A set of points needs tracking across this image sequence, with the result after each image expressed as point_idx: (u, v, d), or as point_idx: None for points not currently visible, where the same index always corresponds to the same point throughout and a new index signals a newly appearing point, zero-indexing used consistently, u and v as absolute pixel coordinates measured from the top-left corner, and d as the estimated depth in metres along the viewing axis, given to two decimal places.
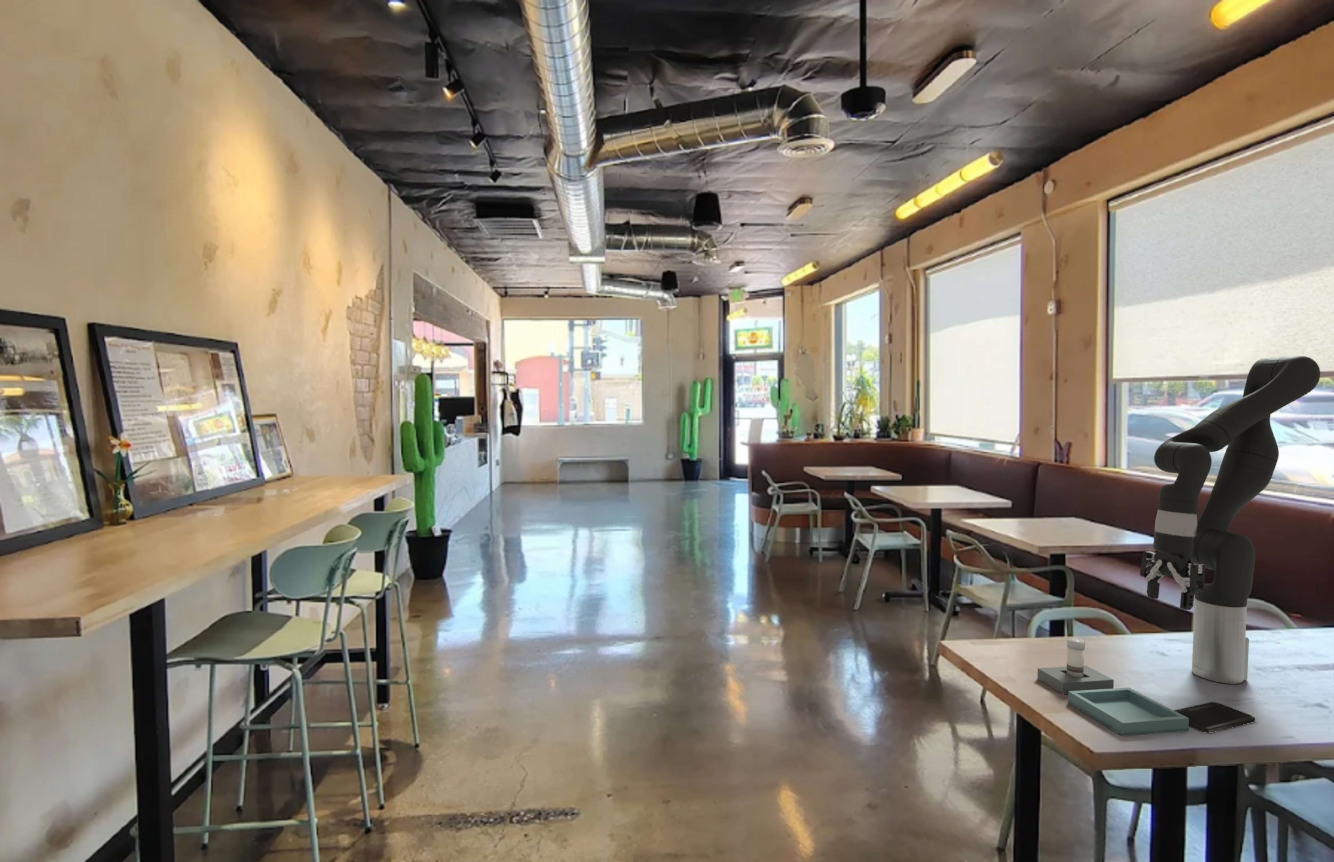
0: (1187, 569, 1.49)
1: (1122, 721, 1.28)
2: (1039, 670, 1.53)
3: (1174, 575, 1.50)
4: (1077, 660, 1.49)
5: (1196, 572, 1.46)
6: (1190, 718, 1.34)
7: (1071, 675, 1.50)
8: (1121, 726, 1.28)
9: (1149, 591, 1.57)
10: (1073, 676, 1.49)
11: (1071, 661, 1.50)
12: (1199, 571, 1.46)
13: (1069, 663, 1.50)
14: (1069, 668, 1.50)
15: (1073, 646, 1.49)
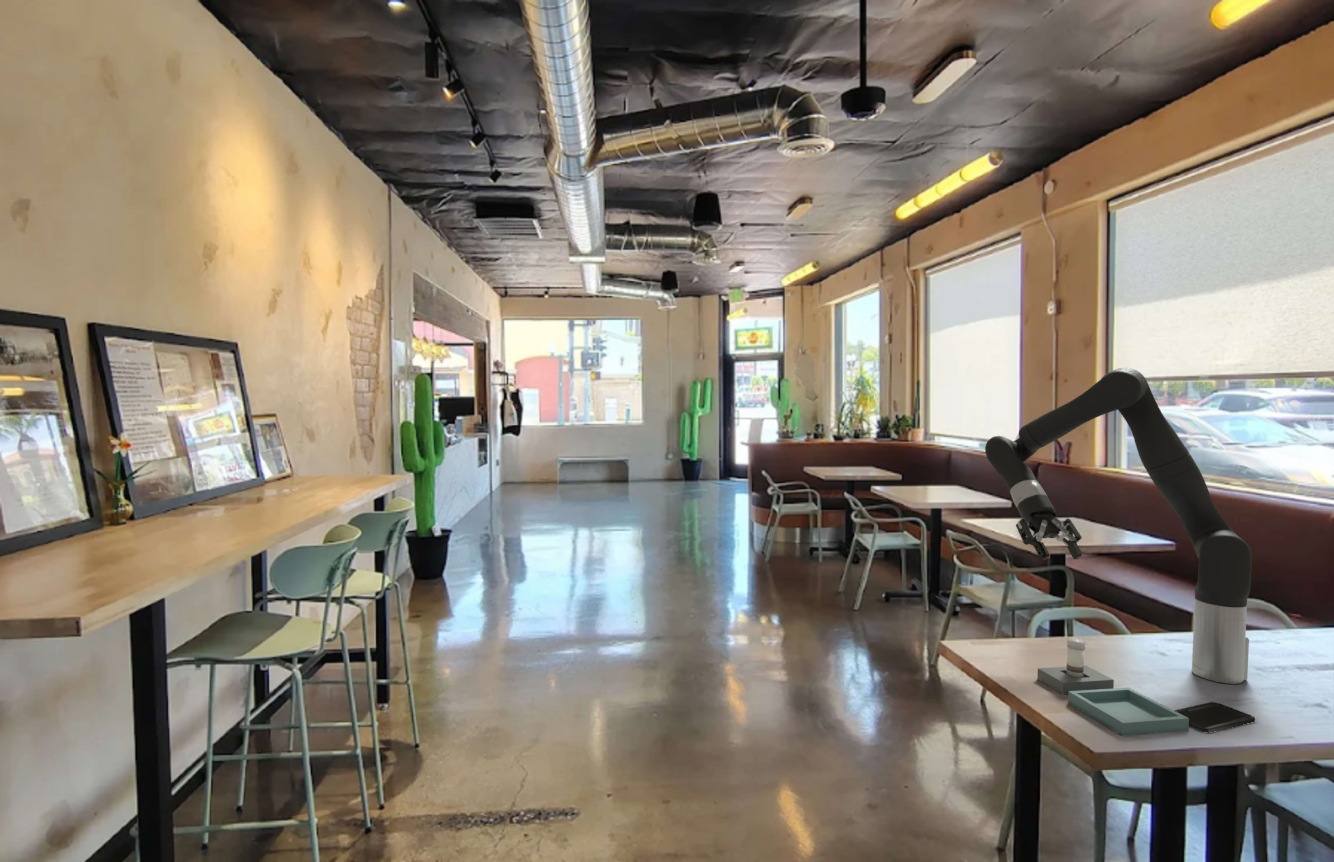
0: None
1: (1122, 721, 1.28)
2: (1039, 670, 1.53)
3: None
4: (1077, 660, 1.49)
5: (1018, 529, 1.67)
6: (1190, 718, 1.34)
7: (1071, 675, 1.50)
8: (1121, 726, 1.28)
9: None
10: (1073, 676, 1.49)
11: (1071, 661, 1.50)
12: (1019, 526, 1.67)
13: (1069, 663, 1.50)
14: (1069, 668, 1.50)
15: (1073, 646, 1.49)
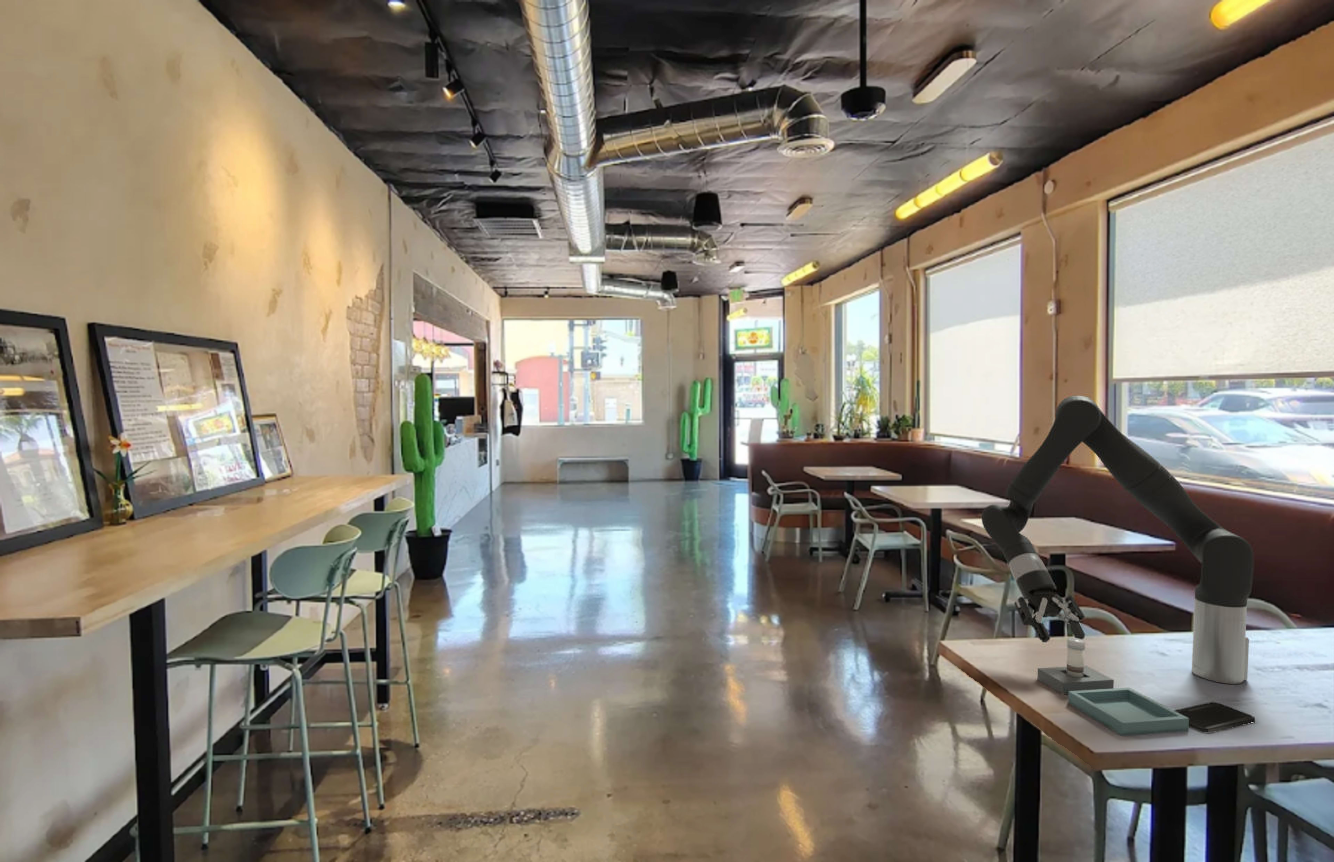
0: None
1: (1122, 721, 1.28)
2: (1039, 670, 1.53)
3: None
4: (1077, 660, 1.49)
5: (1017, 607, 1.59)
6: (1190, 718, 1.34)
7: (1071, 675, 1.50)
8: (1121, 726, 1.28)
9: None
10: (1073, 676, 1.49)
11: (1071, 661, 1.50)
12: (1018, 605, 1.59)
13: (1069, 663, 1.50)
14: (1069, 668, 1.50)
15: (1073, 646, 1.49)
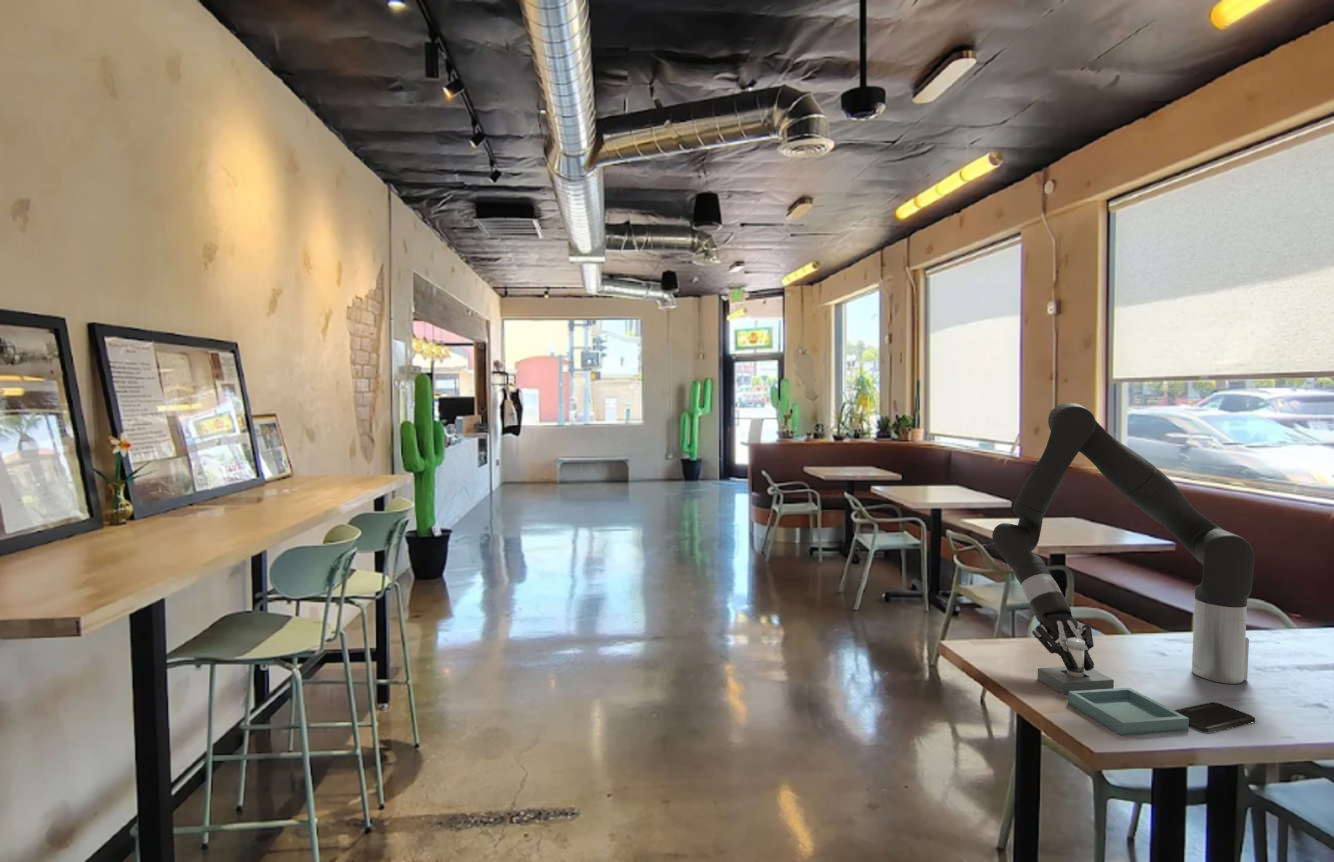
0: None
1: (1122, 721, 1.28)
2: (1039, 670, 1.53)
3: None
4: (1077, 660, 1.49)
5: (1037, 637, 1.53)
6: (1190, 718, 1.34)
7: (1071, 675, 1.50)
8: (1121, 726, 1.28)
9: None
10: (1073, 676, 1.49)
11: None
12: (1038, 635, 1.53)
13: None
14: None
15: (1073, 646, 1.49)
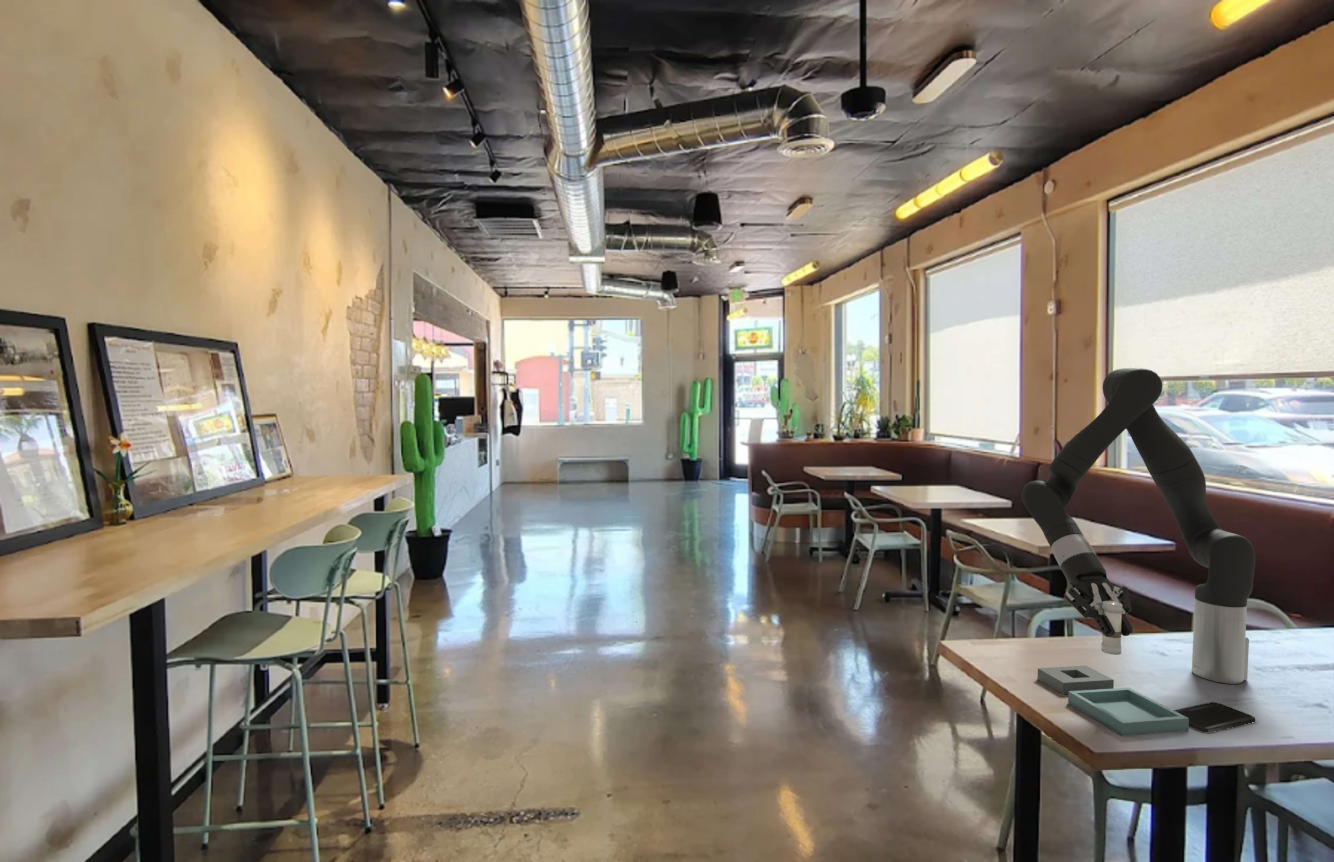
0: None
1: (1122, 721, 1.28)
2: (1039, 670, 1.53)
3: None
4: (1114, 624, 1.38)
5: (1069, 601, 1.42)
6: (1190, 718, 1.34)
7: (1107, 641, 1.38)
8: (1121, 726, 1.28)
9: None
10: (1110, 642, 1.38)
11: None
12: (1070, 598, 1.42)
13: None
14: None
15: (1109, 609, 1.38)
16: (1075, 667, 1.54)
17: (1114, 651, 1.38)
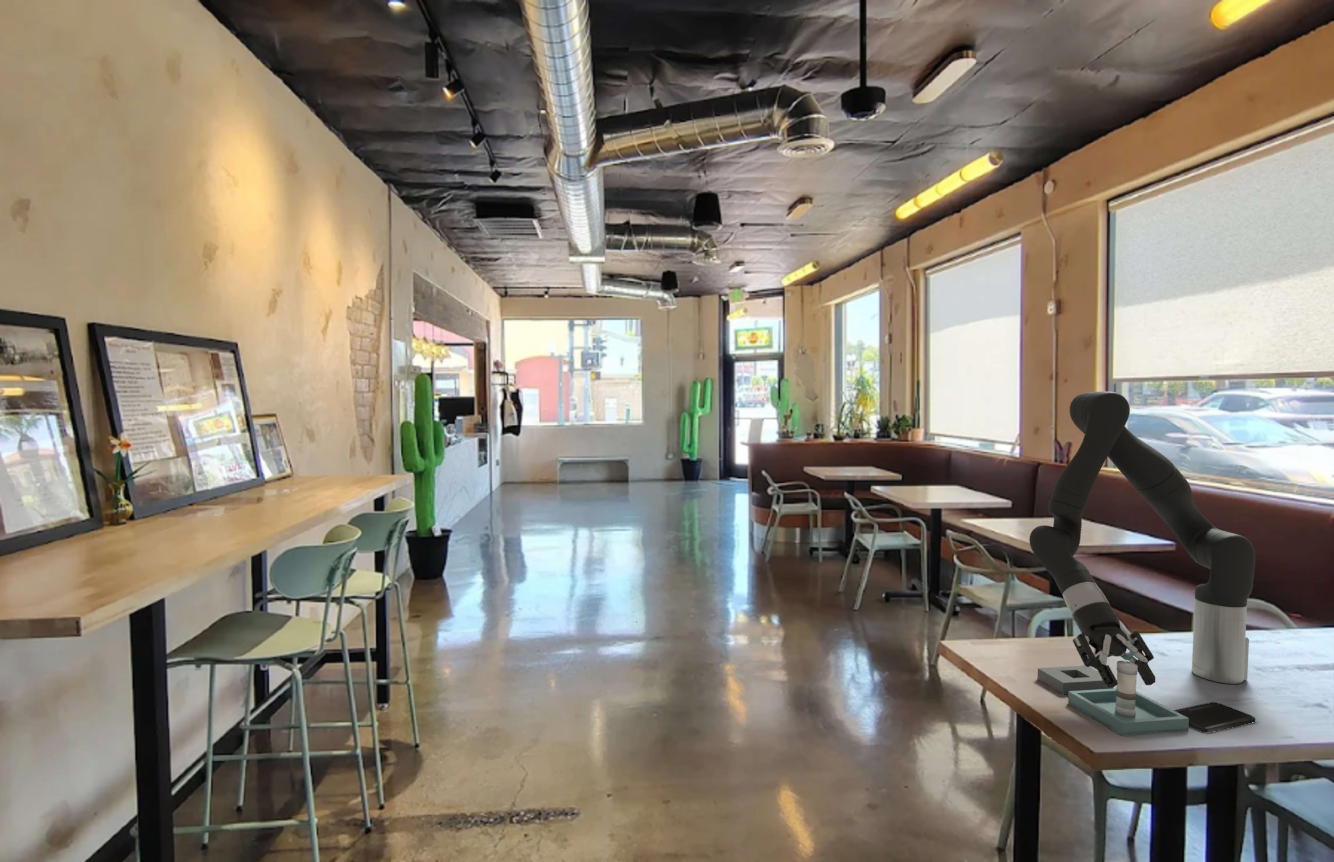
0: None
1: (1122, 721, 1.28)
2: (1039, 670, 1.53)
3: None
4: (1129, 686, 1.34)
5: (1076, 646, 1.39)
6: (1190, 718, 1.34)
7: (1122, 703, 1.35)
8: (1121, 726, 1.28)
9: None
10: (1124, 704, 1.34)
11: (1121, 687, 1.35)
12: (1077, 643, 1.39)
13: (1119, 689, 1.35)
14: (1119, 695, 1.35)
15: (1124, 670, 1.34)
16: (1075, 667, 1.54)
17: (1128, 713, 1.34)
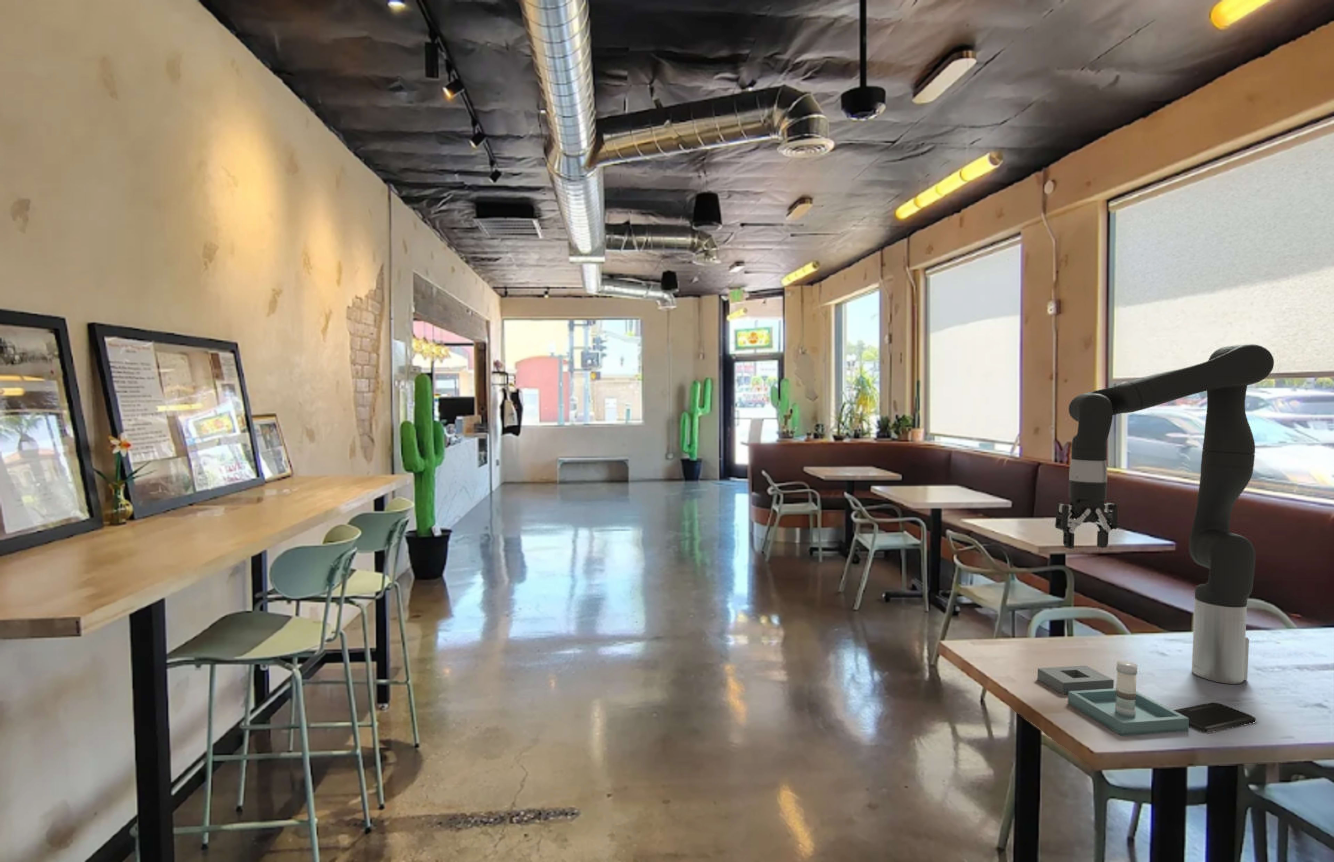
0: None
1: (1122, 721, 1.28)
2: (1039, 670, 1.53)
3: None
4: (1129, 686, 1.34)
5: (1057, 510, 1.60)
6: (1189, 718, 1.34)
7: (1122, 702, 1.35)
8: (1121, 726, 1.28)
9: None
10: (1124, 704, 1.34)
11: (1121, 687, 1.35)
12: (1059, 510, 1.59)
13: (1119, 689, 1.35)
14: (1119, 695, 1.35)
15: (1124, 670, 1.34)
16: (1075, 667, 1.54)
17: (1128, 713, 1.34)
